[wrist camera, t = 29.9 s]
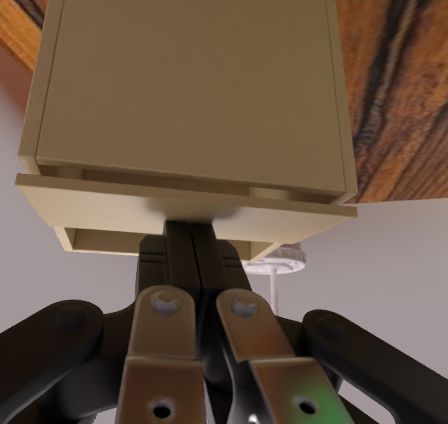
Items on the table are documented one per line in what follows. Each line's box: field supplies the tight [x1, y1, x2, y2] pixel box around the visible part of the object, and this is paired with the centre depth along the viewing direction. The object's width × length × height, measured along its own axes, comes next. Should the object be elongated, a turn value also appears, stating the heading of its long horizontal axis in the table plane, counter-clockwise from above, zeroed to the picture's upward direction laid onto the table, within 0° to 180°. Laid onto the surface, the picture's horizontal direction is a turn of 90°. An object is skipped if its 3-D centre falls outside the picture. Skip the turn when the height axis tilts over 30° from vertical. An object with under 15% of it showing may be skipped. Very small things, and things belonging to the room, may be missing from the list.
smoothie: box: [242, 241, 306, 316], centre depth 34 cm, size 6×6×14 cm
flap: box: [15, 173, 358, 244], centre depth 12 cm, size 4×9×1 cm, turn 76°
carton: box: [17, 0, 358, 263], centre depth 17 cm, size 9×9×12 cm
